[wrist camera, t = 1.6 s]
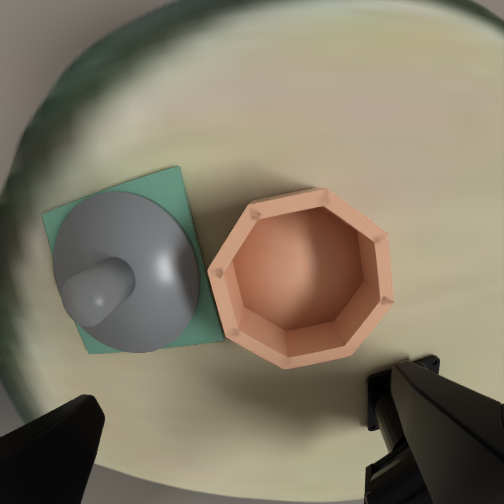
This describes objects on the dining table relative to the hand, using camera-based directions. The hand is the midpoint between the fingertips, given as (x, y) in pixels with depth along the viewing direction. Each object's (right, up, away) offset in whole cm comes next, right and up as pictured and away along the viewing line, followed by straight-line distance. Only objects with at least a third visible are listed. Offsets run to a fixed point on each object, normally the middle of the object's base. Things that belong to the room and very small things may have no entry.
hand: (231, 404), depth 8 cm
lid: (-9, +3, +12) cm, 15 cm away
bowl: (+4, +3, +12) cm, 13 cm away
